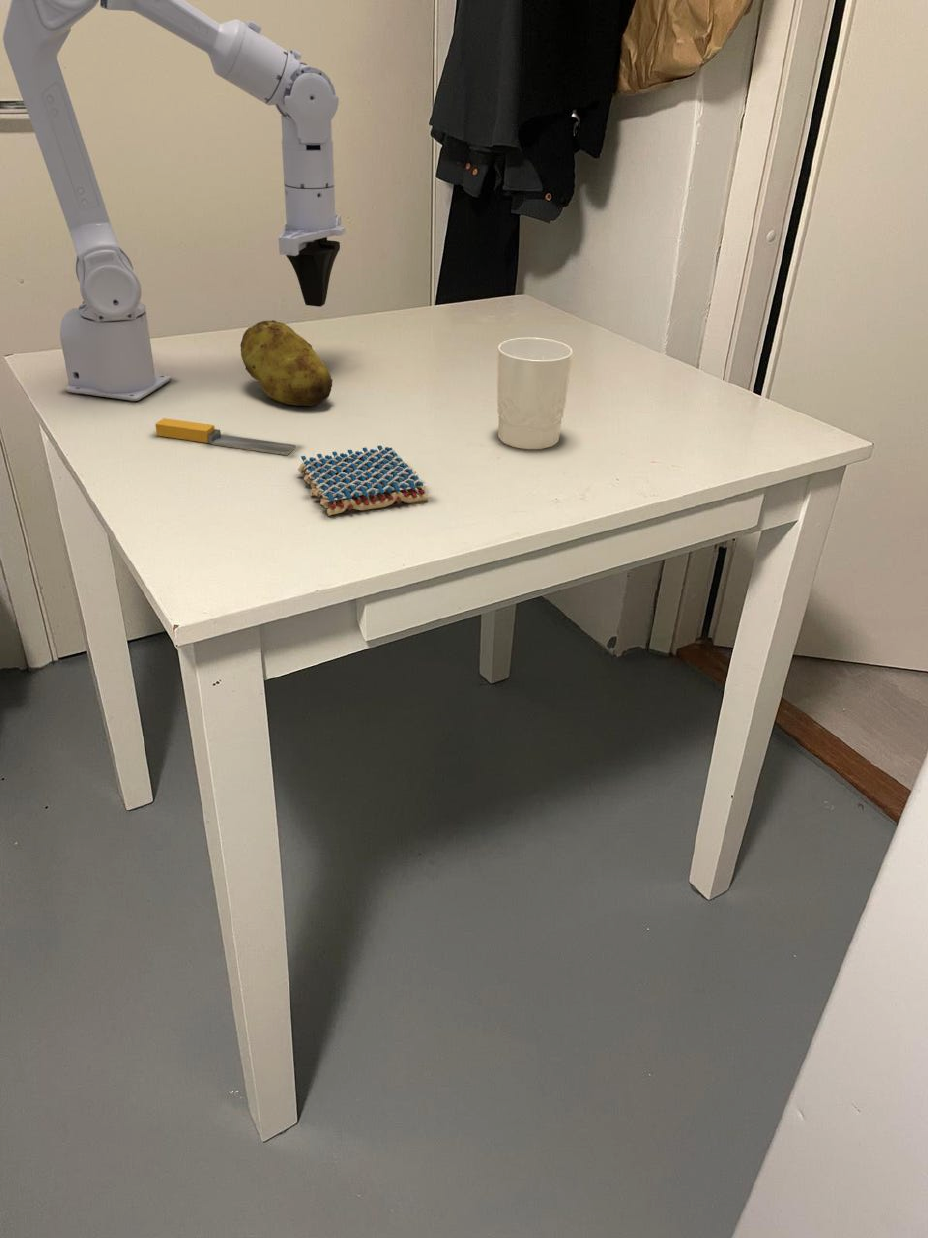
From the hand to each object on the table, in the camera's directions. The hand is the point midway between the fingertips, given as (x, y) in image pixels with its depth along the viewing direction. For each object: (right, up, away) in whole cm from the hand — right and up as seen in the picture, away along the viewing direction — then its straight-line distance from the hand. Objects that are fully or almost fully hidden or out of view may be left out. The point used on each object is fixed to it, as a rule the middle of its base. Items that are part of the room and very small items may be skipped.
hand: (315, 304), depth 118 cm
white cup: (+25, -19, -12) cm, 34 cm away
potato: (-3, -12, -4) cm, 13 cm away
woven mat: (+8, -26, -24) cm, 36 cm away
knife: (-7, -20, -16) cm, 26 cm away
